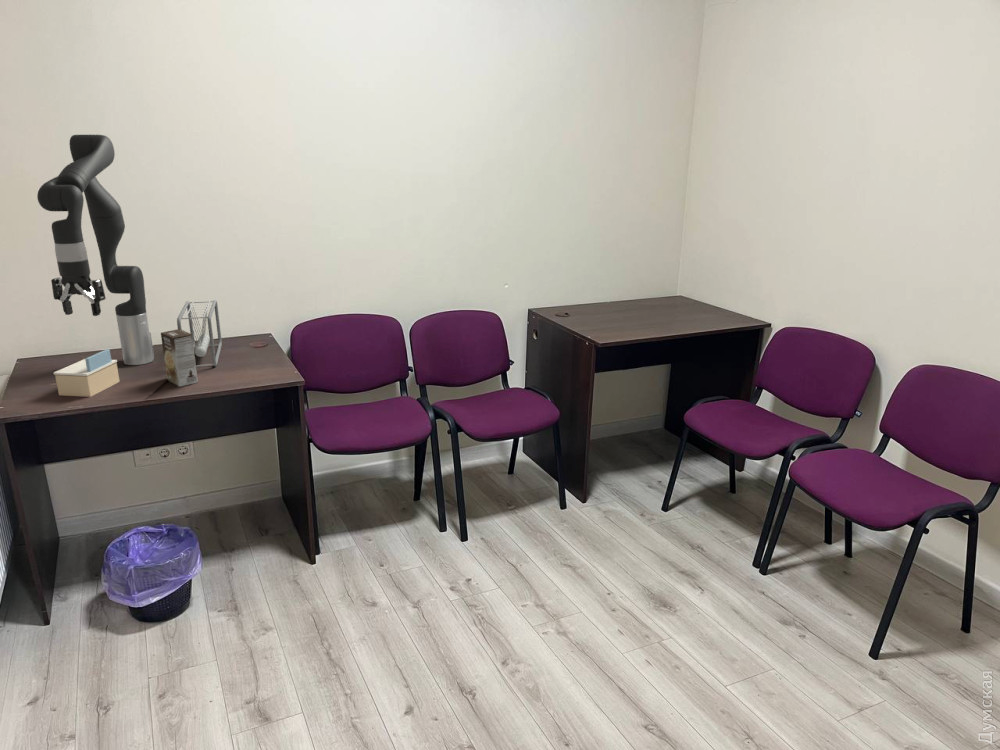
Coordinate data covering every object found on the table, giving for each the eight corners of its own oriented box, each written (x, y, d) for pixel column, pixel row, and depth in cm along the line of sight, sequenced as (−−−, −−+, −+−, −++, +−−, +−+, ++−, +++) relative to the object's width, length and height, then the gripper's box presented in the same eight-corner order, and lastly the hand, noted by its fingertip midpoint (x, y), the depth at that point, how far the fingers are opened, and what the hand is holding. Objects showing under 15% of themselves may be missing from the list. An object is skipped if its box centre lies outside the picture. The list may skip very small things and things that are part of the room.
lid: (86, 360, 220) (83, 346, 219) (117, 361, 219) (115, 347, 218) (53, 374, 207) (50, 359, 205) (87, 376, 206) (84, 361, 204)
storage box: (90, 382, 222) (86, 361, 220) (120, 384, 221) (116, 362, 219) (59, 397, 209) (55, 375, 207) (91, 399, 208) (87, 376, 206)
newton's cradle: (192, 346, 263) (186, 300, 257) (222, 344, 266) (216, 298, 260) (183, 370, 235) (176, 318, 230) (216, 368, 238) (210, 317, 233)
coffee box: (166, 380, 225) (159, 332, 220) (186, 376, 230) (179, 328, 225) (179, 387, 219) (172, 337, 214) (199, 382, 224) (193, 333, 219)
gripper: (104, 257, 199) (114, 312, 204) (58, 255, 201) (69, 310, 206) (86, 261, 192) (97, 319, 197) (39, 259, 194) (50, 317, 199)
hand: (82, 314), depth 202 cm, fingers open, 8 cm apart
